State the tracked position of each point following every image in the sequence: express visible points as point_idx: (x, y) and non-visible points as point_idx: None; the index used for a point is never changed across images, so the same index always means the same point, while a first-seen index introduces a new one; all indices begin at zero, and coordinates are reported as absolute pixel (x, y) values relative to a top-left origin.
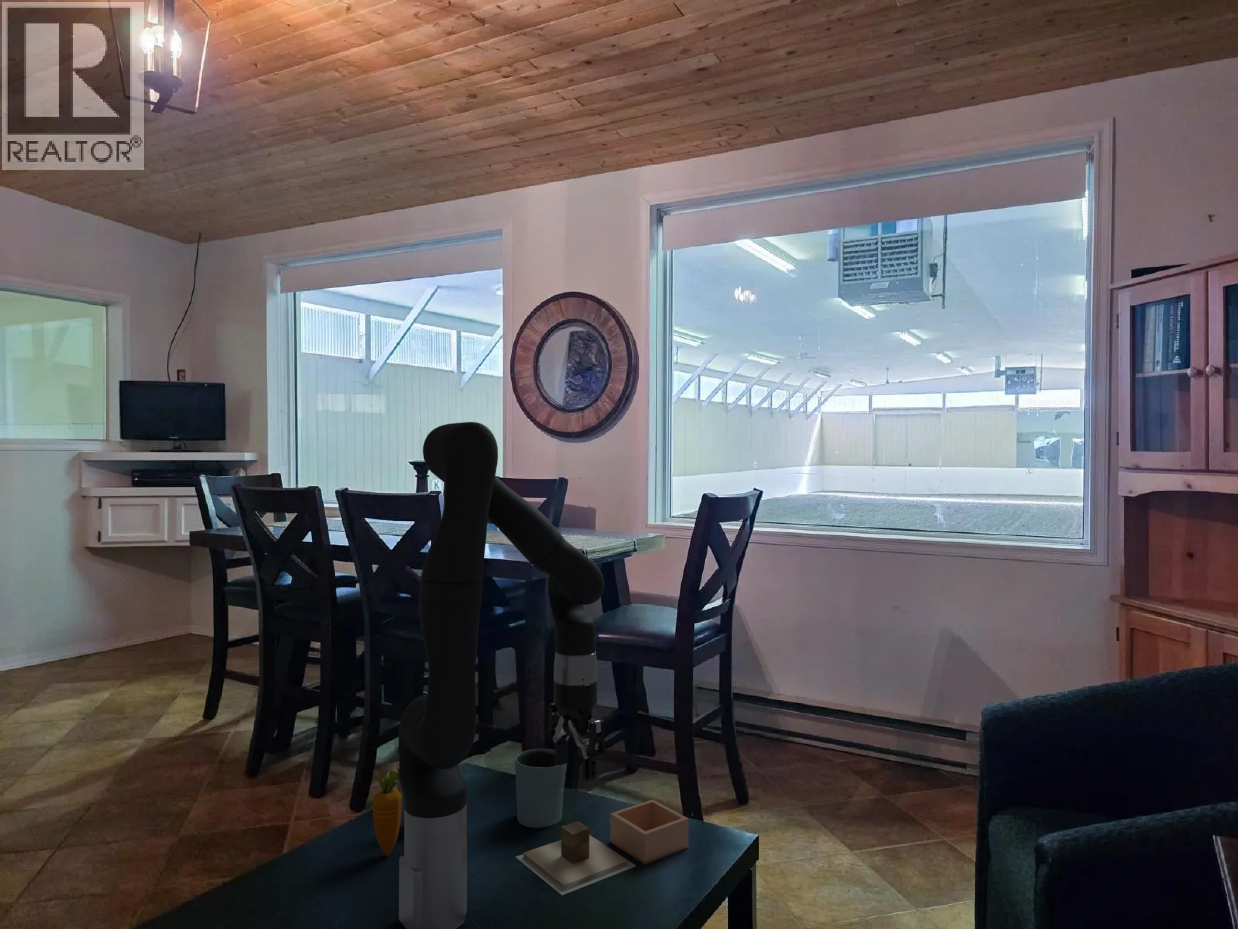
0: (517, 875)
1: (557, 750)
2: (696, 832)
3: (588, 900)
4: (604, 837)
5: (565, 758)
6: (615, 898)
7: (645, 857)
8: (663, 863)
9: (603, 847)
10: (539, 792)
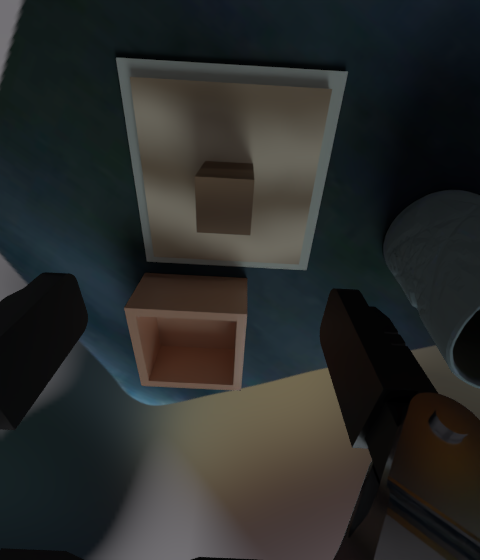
0: (277, 20)
1: (366, 348)
2: None
3: (83, 108)
4: (273, 284)
5: (327, 343)
6: (68, 163)
7: (140, 282)
8: None
9: (222, 253)
10: (451, 247)
